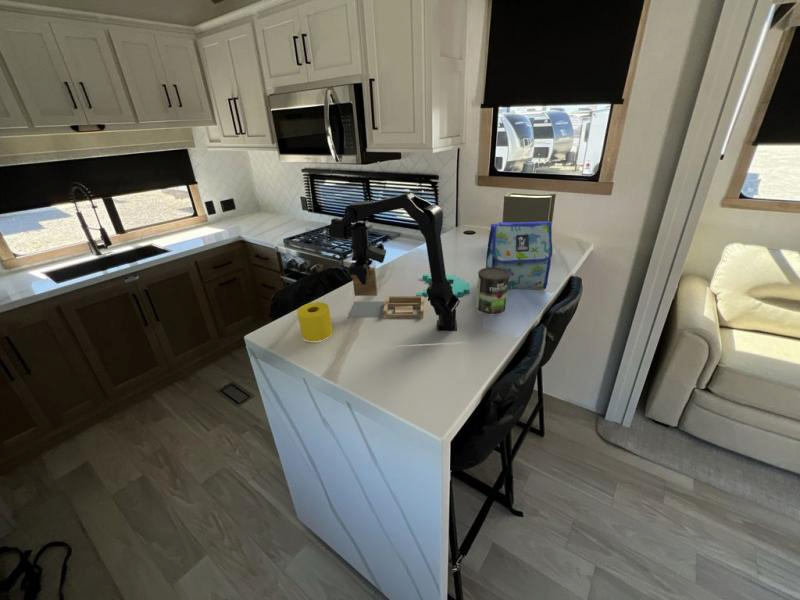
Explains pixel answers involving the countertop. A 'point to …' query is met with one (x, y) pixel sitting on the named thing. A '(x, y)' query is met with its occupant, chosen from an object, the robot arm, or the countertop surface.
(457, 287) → the alien figure
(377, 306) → the mat
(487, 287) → the coffee can
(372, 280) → the wooden block
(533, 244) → the lunch bag
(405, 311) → the offcut upper
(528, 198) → the book
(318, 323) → the yellow paper roll
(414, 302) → the rack
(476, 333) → the countertop surface
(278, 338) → the countertop surface
